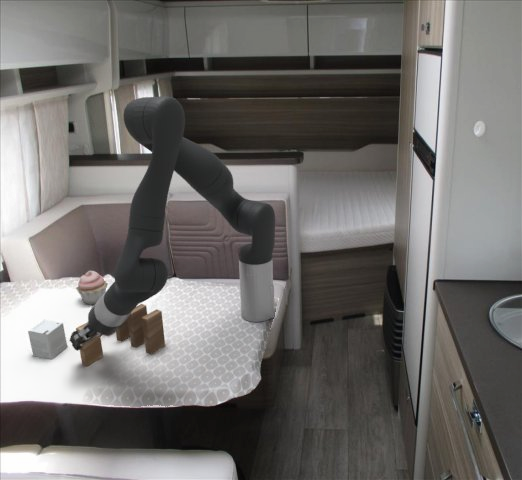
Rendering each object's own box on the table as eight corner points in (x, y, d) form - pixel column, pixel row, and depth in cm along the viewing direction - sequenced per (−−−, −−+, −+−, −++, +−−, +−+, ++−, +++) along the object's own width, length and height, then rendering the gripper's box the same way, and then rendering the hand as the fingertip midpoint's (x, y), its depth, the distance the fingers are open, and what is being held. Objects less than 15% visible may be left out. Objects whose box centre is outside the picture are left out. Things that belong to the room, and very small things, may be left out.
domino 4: (165, 345, 132) (161, 311, 128) (150, 354, 128) (146, 319, 125) (160, 343, 133) (156, 309, 129) (145, 352, 129) (141, 317, 126)
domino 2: (135, 333, 138) (131, 300, 134) (121, 342, 134) (116, 308, 131) (131, 331, 139) (126, 298, 135) (116, 340, 135) (111, 306, 132)
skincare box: (48, 343, 134) (43, 318, 132) (68, 347, 133) (63, 321, 130) (32, 356, 129) (26, 330, 126) (52, 359, 127) (47, 334, 125)
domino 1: (103, 356, 128) (97, 321, 124) (86, 366, 124) (80, 330, 121) (98, 354, 129) (93, 319, 125) (82, 364, 125) (75, 328, 122)
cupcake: (72, 305, 154) (66, 275, 151) (88, 292, 163) (84, 263, 159) (99, 308, 152) (95, 277, 149) (115, 294, 160) (111, 265, 157)
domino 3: (150, 339, 135) (146, 305, 131) (135, 348, 131) (131, 313, 128) (145, 337, 136) (141, 303, 132) (131, 346, 132) (126, 311, 129)
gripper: (126, 285, 121) (100, 317, 132) (75, 310, 110) (51, 342, 121) (144, 311, 120) (116, 341, 131) (94, 338, 109) (68, 368, 120)
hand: (85, 341), depth 126 cm, fingers closed on domino 1, 5 cm apart
